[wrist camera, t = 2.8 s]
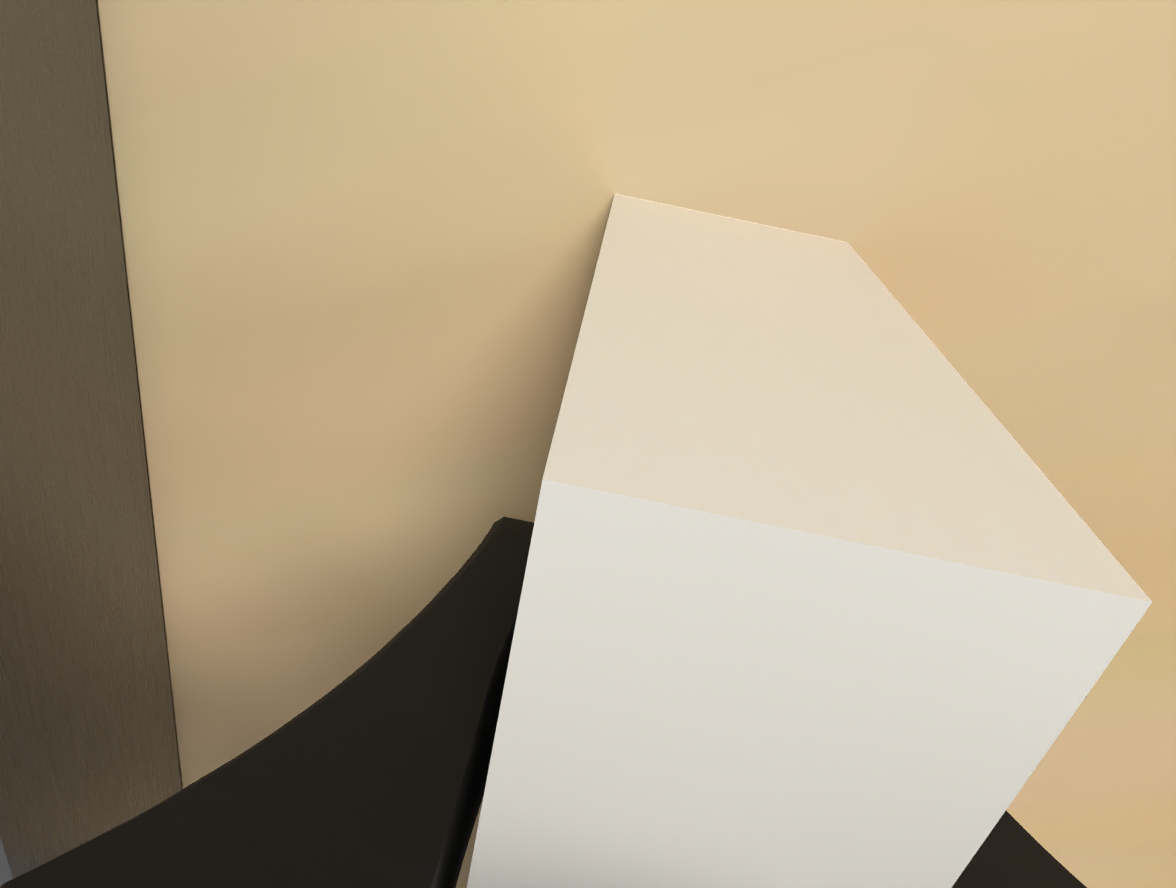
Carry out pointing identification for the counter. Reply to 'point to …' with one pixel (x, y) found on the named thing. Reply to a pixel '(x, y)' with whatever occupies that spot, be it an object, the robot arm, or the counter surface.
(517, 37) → the counter surface
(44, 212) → the rack
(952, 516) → the white rectangular block
